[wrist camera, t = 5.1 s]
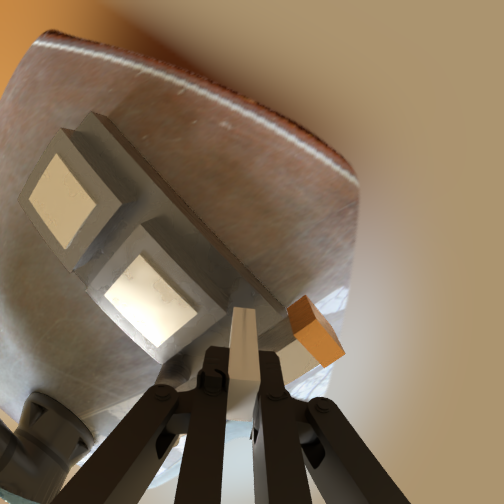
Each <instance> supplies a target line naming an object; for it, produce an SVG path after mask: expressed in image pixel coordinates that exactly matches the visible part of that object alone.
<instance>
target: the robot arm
mask: <svg viewBox="0 0 504 504" xmlns="http://www.w3.org/2000/svg"><path fill="white" fill-rule="evenodd" d="M252 418H253V427H252V432H251V436H250V439H251V440H252V445H253V446H252V447H253V471H254V493H255V504H312V499H311V494H310V489H309V484H308V479H307V474H306V469H305V466H306V468H307V469H308V471H309V473H310V475H311V477H312V479H313V481H314V482H315V484H316V486H317V488H318V490H319V492H320V493H321V495H322V497H323V499H324V500H325V502H326V504H411V503H410V502H409V501H408V500H407V498H406V497H405V496H404V494H403V493H402V492H401V490H400V489H399V488H398V487H397V485H396V484H395V483H394V481H393V480H392V479H391V477H390V476H389V475H388V474H387V472H386V471H385V470H384V469H383V467H382V466H381V464H380V463H379V462H378V460H377V459H376V458H375V456H374V455H373V454H372V452H371V451H370V450H369V448H368V447H367V446H366V444H365V443H364V442H363V440H362V439H361V438H360V437H359V435H358V434H357V432H356V431H355V429H354V428H353V427H352V425H351V424H350V423H349V421H348V420H347V419H346V417H345V416H344V415H343V413H342V412H341V411H340V409H339V408H338V406H337V405H336V404H335V403H334V402H333V401H332V400H330V399H328V398H324V397H315V398H313V399H311V400H310V401H309V402H303V401H299V400H296V399H294V398H292V397H291V396H290V394H289V392H288V391H287V390H286V389H285V386H284V380H283V375H282V370H281V365H280V359H279V356H278V355H277V354H276V353H275V352H274V351H263V350H258V342H257V329H256V316H255V309H249V308H240V307H234V308H233V316H232V325H231V333H230V342H229V348H227V347H218V346H210V347H209V348H208V349H207V350H206V352H205V357H204V362H203V366H202V369H201V370H199V371H198V373H197V386H196V387H195V388H194V389H192V390H189V391H181V392H177V391H176V389H175V388H173V387H172V386H170V385H166V384H157V385H153V386H151V387H150V388H149V389H148V390H147V391H146V392H145V393H144V395H143V396H142V397H141V398H140V399H139V401H138V402H137V403H136V404H135V405H134V406H133V408H132V409H131V410H130V411H129V412H128V413H127V415H126V416H125V417H124V418H123V419H122V420H121V422H120V423H119V424H118V425H117V426H116V427H115V429H114V430H113V431H112V432H111V433H110V435H109V436H108V437H107V438H106V439H105V440H104V441H103V443H102V444H101V445H100V446H99V447H98V448H97V450H96V451H95V452H94V453H93V454H92V455H91V457H90V458H89V459H88V460H87V461H86V462H85V464H84V465H83V466H82V467H81V468H80V469H79V471H78V472H77V473H76V474H75V475H74V476H73V477H72V478H71V480H70V481H69V482H68V483H67V484H66V485H65V486H64V488H63V489H62V490H61V488H62V486H63V483H64V481H65V479H66V477H67V474H68V473H69V471H70V469H71V468H72V467H73V466H74V465H75V464H76V463H78V462H79V461H80V460H81V459H82V458H84V457H85V456H86V455H87V454H88V453H89V452H90V451H91V449H92V447H93V444H94V439H93V437H92V435H91V433H90V432H89V430H88V429H87V428H86V426H85V425H84V424H83V423H82V422H81V421H80V420H79V419H78V418H77V417H76V416H75V415H74V414H73V413H72V412H70V411H69V410H68V409H67V408H65V407H64V406H63V405H61V404H60V403H58V402H57V401H55V400H54V399H52V398H50V397H48V396H46V395H44V394H41V393H32V394H31V395H30V396H29V397H28V398H27V399H26V401H25V403H24V406H23V410H22V414H21V417H20V421H19V426H18V427H17V429H16V430H15V432H14V433H12V431H11V430H10V429H9V428H8V427H7V426H6V425H5V424H4V422H3V421H2V420H1V419H0V497H1V498H2V499H3V500H5V501H6V502H8V503H9V504H137V503H138V502H139V500H140V499H141V497H142V496H143V494H144V493H145V491H146V489H147V488H148V486H149V485H150V483H151V481H152V480H153V478H154V477H155V475H156V473H157V472H158V470H159V469H160V467H161V465H162V464H163V462H164V461H165V459H166V457H167V456H168V454H169V452H170V451H171V449H172V447H173V446H174V444H175V442H176V441H177V439H178V437H179V435H180V434H187V437H186V442H185V447H184V452H183V457H182V462H181V467H180V473H179V478H178V484H177V489H176V495H175V501H174V504H221V488H222V471H223V456H224V441H225V427H226V420H235V421H248V422H252ZM60 490H61V491H60Z"/></svg>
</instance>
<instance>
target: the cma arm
mask: <svg viewBox="0 0 504 504" xmlns="http://www.w3.org/2000/svg"><path fill="white" fill-rule="evenodd" d="M287 312H288V316H286V317H285V318H284V319H282V320H281V321H279V322H278V323H277V324H275V325H274V326H272V327H271V328H269V329H268V330H267V331H265V332H264V333H262V334H261V335H259V336H258V337H257V342H258V350H263V351H274V352H275V353H276V354H277V355H278V356H279V359H280V365H281V370H282V375H283V380H284V386H285V385H287V384H289V383H290V382H292V381H294V380H295V379H297V378H298V377H300V376H302V375H303V374H305V373H306V372H308V371H310V370H311V369H313V368H314V367H316V366H317V365H319V364H321V365H322V366H323V367H324V368H325V367H327V366H328V365H330V364H331V363H333V362H334V361H336V360H337V359H339V358H340V357H342V356H343V355H345V352H344V350H343V348H342V346H341V344H340V342H339V340H338V338H337V336H336V334H335V332H334V330H333V328H332V326H331V325H330V324H329V323H328V321H327V320H326V319H325V318H324V316H323V315H322V314H321V313H320V312H319V310H318V309H317V308H316V307H315V305H314V304H313V303H312V302H311V301H310V299H309V298H308V297H307V296H306V295H304V296H303V297H302V298H300V299H299V300H298V301H296V302H295V303H294V304H292V305H291V306H290V307H288V308H287ZM196 386H197V376H196V377H194V378H192V379H191V380H189V381H187V382H185V383H184V384H182V385H180V386H179V387H177V388H175V389H176V391H177V392H181V391H189V390H192V389H194V388H195V387H196ZM184 435H186V434H180V435H179V437H178V439H177V441H176V442H175V444H174V446H173V447H175V446H177V445H178V443H179V439H180V437H181V436H184ZM173 447H172V448H173Z"/></svg>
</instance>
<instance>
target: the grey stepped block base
mask: <svg viewBox="0 0 504 504" xmlns="http://www.w3.org/2000/svg"><path fill="white" fill-rule="evenodd" d="M18 202H19V203H20V205H21V207H22V208H23V210H24V211H25V213H26V214H27V216H28V217H29V219H30V220H31V222H32V223H33V225H34V226H35V228H36V229H37V231H38V232H39V234H40V235H41V236H42V238H43V239H44V241H45V242H46V243H47V245H48V246H49V247H50V249H51V250H52V251H53V253H54V254H55V255H56V257H57V258H58V259H59V260H60V262H61V263H62V264H63V265H64V267H65V268H66V269H67V270H68V272H69V273H71V272H73V271H74V272H75V273H76V274H77V275H78V277H79V278H80V279H81V280H82V281H83V282H84V284H85V285H86V286H87V287H88V288H87V289H86V290H85V291H86V293H87V294H88V295H89V296H90V297H91V298H92V299H93V300H94V301H95V303H96V304H97V305H98V306H99V307H100V308H101V309H102V310H103V311H104V312H105V313H106V314H107V315H108V316H109V317H110V318H111V319H112V320H113V321H114V322H115V323H116V324H117V325H118V326H119V327H120V328H121V329H122V330H123V331H124V332H125V333H126V334H127V335H128V336H129V337H130V338H131V339H132V340H133V341H134V342H136V343H137V344H138V345H139V346H140V347H141V348H142V349H143V350H144V351H145V352H147V353H148V354H149V355H150V356H151V357H152V358H153V359H155V360H156V361H157V362H158V363H159V364H160V365H162V364H163V365H162V368H161V370H160V372H159V375H158V377H157V379H156V382H155V384H154V385H157V384H166V385H170V386H172V387H173V388H177V387H179V386H180V385H182V384H184V383H185V382H187V381H189V380H191V379H192V378H194V377H196V376H197V373H198V371H199V370H201V369H202V366H203V362H204V357H205V352H206V350H207V349H208V348H209V347H210V346H218V347H227V348H229V342H230V333H231V325H232V316H233V308H234V307H240V308H249V309H255V316H256V329H257V337H258V336H259V335H261V334H262V333H264V332H265V331H267V330H268V329H269V328H271V327H272V326H274V325H275V324H277V323H278V322H279V321H281V320H282V319H284V318H285V317H286V316H288V315H287V311H286V309H285V308H284V307H283V306H282V305H281V304H280V303H279V302H278V301H277V300H276V299H275V298H274V297H273V296H272V295H271V293H270V292H269V291H268V290H267V289H266V288H265V287H264V286H263V285H262V284H261V283H260V282H259V281H258V280H257V279H256V278H255V277H254V276H253V275H252V274H251V273H250V272H249V271H248V269H247V268H246V267H245V266H244V265H243V264H242V263H241V262H240V261H239V260H238V259H237V258H236V257H235V256H234V255H233V254H232V253H231V252H230V251H229V249H228V248H227V247H226V246H225V245H224V244H223V243H222V242H221V241H220V240H219V239H218V238H217V237H216V236H215V235H214V234H213V232H212V231H211V230H210V229H209V228H208V227H207V226H206V225H205V224H204V223H203V222H202V221H201V220H200V219H199V218H198V216H197V215H196V214H195V213H194V212H193V211H192V210H191V209H190V208H189V207H188V206H187V205H186V204H185V202H184V201H183V200H182V199H181V198H180V197H179V196H178V195H177V194H176V193H175V192H174V191H173V189H172V188H171V187H170V186H169V185H168V184H167V183H166V182H165V181H164V180H163V179H162V178H161V176H160V175H159V174H158V173H157V172H156V171H155V170H154V169H153V168H152V167H151V166H150V164H149V163H148V162H147V161H146V160H145V159H144V158H143V157H142V156H141V155H140V153H139V152H138V151H137V150H136V149H135V148H134V147H133V146H132V145H131V143H130V142H129V141H128V140H127V139H126V138H125V137H124V136H123V135H122V133H121V132H120V131H119V130H118V129H117V128H116V127H115V126H114V125H113V123H112V122H111V121H110V120H109V119H108V118H107V117H106V116H103V115H101V114H98V113H95V112H92V111H91V112H90V113H89V114H88V115H87V117H86V118H85V119H84V120H83V122H82V123H81V124H80V125H79V127H78V128H77V129H76V131H75V130H70V129H65V128H60V129H59V131H58V132H57V133H56V135H55V136H54V138H53V139H52V141H51V142H50V144H49V145H48V147H47V148H46V150H45V151H44V153H43V155H42V156H41V158H40V160H39V161H38V163H37V165H36V166H35V168H34V170H33V171H32V173H31V175H30V177H29V179H28V180H27V182H26V184H25V186H24V188H23V190H22V192H21V194H20V196H19V198H18Z"/></svg>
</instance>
